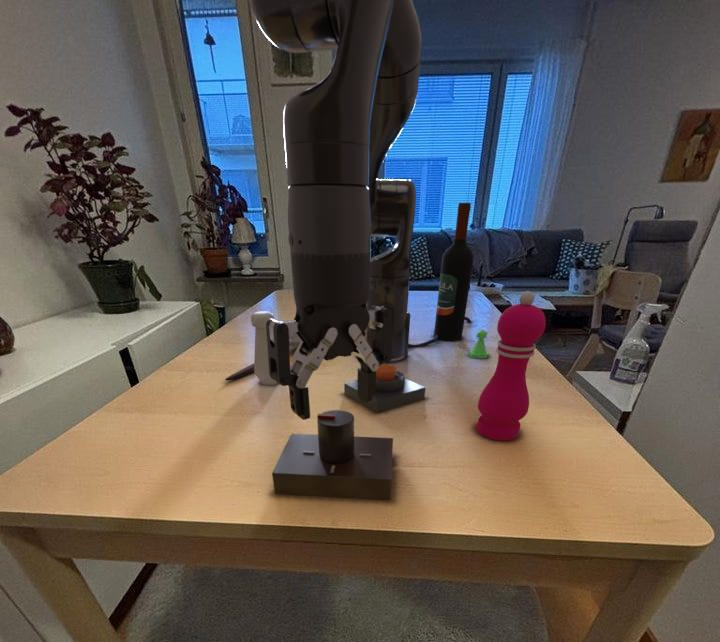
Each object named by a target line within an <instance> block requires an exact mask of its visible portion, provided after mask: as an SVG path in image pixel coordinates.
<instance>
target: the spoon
mask: <svg viewBox="0 0 720 642" xmlns="http://www.w3.org/2000/svg"><path fill="white" fill-rule="evenodd" d="M300 342H301V339H300V337H299V336H298V335H297V334H296V333H295V334H294V336H293V342H292V343H291V344H290V345H289V352H290V353H291V351H293V350H294V351H295V349H297V347H298V346H299V344H300ZM253 372H254V363H252V364H250V365H248V366H246V367H244V368H242V369H240V370H238V371H236V372H234V373H232V374H231V375H229V376H227V377H226V378H225V379H224V380H225V381H232V380H236V379H238V378H241V377H243V376H247V375H248V374H251V373H253Z"/></svg>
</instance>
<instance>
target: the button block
mask: <svg viewBox="0 0 720 642" xmlns="http://www.w3.org/2000/svg"><path fill="white" fill-rule="evenodd" d="M375 384H376V391H375V395H374V396H373V400H372V401H371V402H368V403H365V402H364V401H362V400H360V399H359V398H358V379H357V380H352V381H348V382H344V383H343V387H344V388H343V389H344V391H343V392H344V395H345V396H347V397H348V398H350V399H351V400H353V401H355V402H357V403H359V405H361V406H363V407H365V408H367V409H369V410H371V411H372V412H374V413H375V414H377V413H381V412H384V411H385V412H386V411H388V410H391V409H395V408H398V407H401V406H405V405H408V404H411V403H415V402H419V401H421V400H424V399H425V398H426V397H425V396H426V386H424V385H421V384H419V383H417V382H415V381H413V380H410V379H408V378H406V376H405V374H404V373H403V372H400V371H398V370H396V379H393V380H378V379H376V383H375Z"/></svg>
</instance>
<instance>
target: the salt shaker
mask: <svg viewBox="0 0 720 642" xmlns="http://www.w3.org/2000/svg"><path fill="white" fill-rule="evenodd" d="M269 319H275V315H274V314H273V313H272V312H270V311H266V310H260V311H255V312H253V313H252V314H251V315H250V322H251V326H252V327H253V328H254V329H255V330H254V331H255V332H254V357H253V358H254V360H253V361H254V362H253V364H254V371H253V372H254V375H255V376H256V378H257V379H258V380H259V382H260V383H261V384H262V385H267V386H274V385H277V384H279V383H278V382H276V381H275V380H273V379H272V378H271V377H270V375H269V361H268V347H267V332H266V323H267V321H268V320H269Z"/></svg>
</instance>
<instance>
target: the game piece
mask: <svg viewBox="0 0 720 642" xmlns="http://www.w3.org/2000/svg"><path fill="white" fill-rule="evenodd" d="M487 336H488V332H487V331H486V330H484V329H481V330H478V331H477V333H476V338H478V339H477V341H476V342H475V345H474V346H473V348H472V350H471V351H469V352H468V356H470V357H471V358H473V359H486V358H488V356H489V352H488V351H487V349H486V345H485V339H486V338H487Z"/></svg>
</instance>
